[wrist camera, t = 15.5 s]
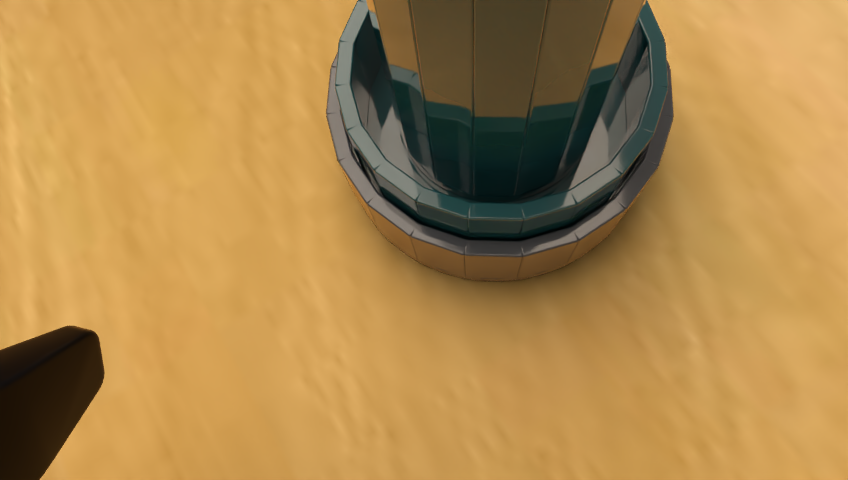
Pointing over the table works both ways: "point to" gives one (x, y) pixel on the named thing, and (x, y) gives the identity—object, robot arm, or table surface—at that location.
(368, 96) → the stack top cup
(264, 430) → the table surface
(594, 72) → the teal cup
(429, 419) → the table surface
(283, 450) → the table surface
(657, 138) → the stack base cup
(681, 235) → the table surface
